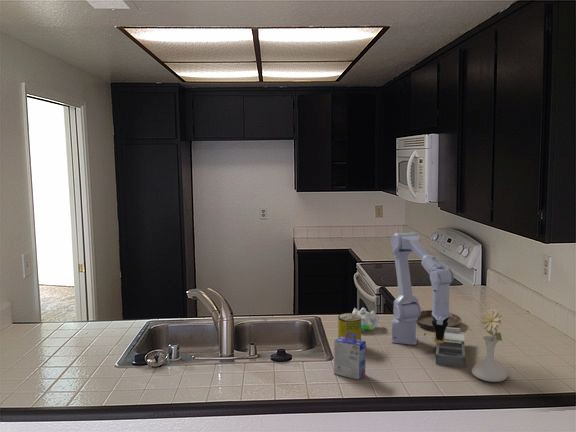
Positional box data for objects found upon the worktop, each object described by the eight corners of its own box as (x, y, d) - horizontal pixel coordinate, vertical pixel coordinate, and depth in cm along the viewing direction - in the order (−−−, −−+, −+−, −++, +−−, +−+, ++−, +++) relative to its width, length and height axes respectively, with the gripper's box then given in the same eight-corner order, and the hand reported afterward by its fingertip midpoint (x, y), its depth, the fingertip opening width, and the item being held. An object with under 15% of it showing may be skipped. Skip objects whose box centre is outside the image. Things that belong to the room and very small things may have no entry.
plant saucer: (460, 335, 215) (460, 327, 214) (410, 329, 222) (410, 322, 221) (461, 319, 234) (462, 312, 233) (415, 315, 241) (415, 308, 240)
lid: (437, 339, 199) (437, 334, 199) (437, 331, 208) (438, 326, 208) (464, 342, 196) (464, 336, 196) (463, 333, 205) (464, 328, 205)
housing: (435, 364, 186) (435, 354, 185) (437, 345, 203) (437, 337, 202) (464, 367, 183) (465, 358, 182) (463, 348, 200) (464, 339, 199)
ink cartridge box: (366, 374, 178) (366, 334, 176) (359, 380, 173) (360, 339, 172) (340, 368, 183) (340, 329, 181) (333, 374, 179) (333, 334, 177)
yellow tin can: (365, 345, 204) (365, 316, 202) (352, 352, 197) (352, 322, 196) (347, 340, 210) (347, 311, 208) (333, 346, 203) (333, 317, 202)
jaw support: (344, 324, 219) (349, 304, 225) (348, 334, 226) (353, 314, 231) (371, 328, 215) (376, 308, 220) (375, 338, 221) (379, 318, 226)
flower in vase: (467, 370, 180) (469, 301, 177) (499, 370, 180) (503, 301, 177) (479, 387, 167) (482, 313, 164) (515, 387, 167) (518, 313, 164)
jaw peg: (432, 342, 186) (433, 326, 185) (433, 339, 190) (434, 323, 189) (445, 344, 185) (446, 328, 184) (445, 340, 189) (446, 324, 188)
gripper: (452, 308, 177) (451, 346, 179) (452, 296, 191) (451, 331, 193) (431, 306, 180) (430, 343, 181) (433, 295, 193) (432, 330, 195)
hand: (439, 337), depth 187 cm, fingers closed on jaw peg, 4 cm apart
